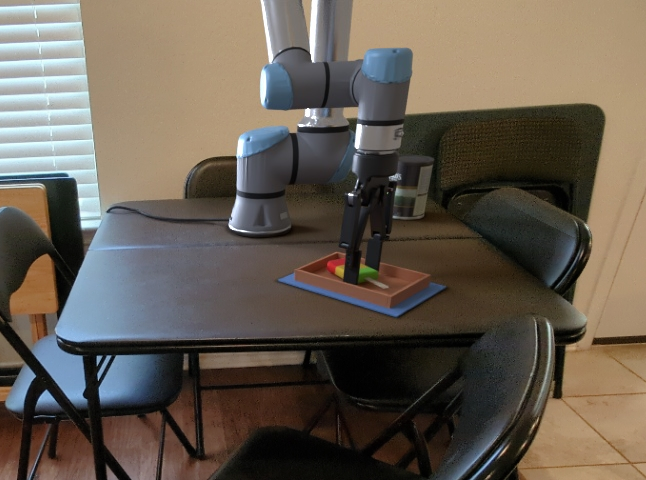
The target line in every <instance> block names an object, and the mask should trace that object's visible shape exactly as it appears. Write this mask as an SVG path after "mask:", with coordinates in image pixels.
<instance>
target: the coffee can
mask: <svg viewBox="0 0 646 480" xmlns="http://www.w3.org/2000/svg"><path fill="white" fill-rule="evenodd" d="M434 163H435V158H434V157H431V156H428V155H421V154H400V155H399V162H398V169H397V173H396V174H395V175H393V176H390V177H389V180H393V181H397V182H398V184H397V188H396V192H395V199H394V209H393V220H394V219H395V220H403V221H413V220H420V219H422V218H424V217H425V212H426V205H427V201H428V194H429V187H430V182H431V177H432V172H433V167H434ZM387 194H388V193H387Z"/></svg>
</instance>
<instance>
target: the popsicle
mask: <svg viewBox="0 0 646 480" xmlns="http://www.w3.org/2000/svg"><path fill="white" fill-rule="evenodd" d="M344 266H345V258H342V259H337V260H332V261H329V262H328V263H327V270H328V271H329V272H331V273H333V274H335V275H337V276H339V277H341V278H343V275H344ZM378 275H379V272H378V271H376V270H374V269H372V268H370V267H368V266H365V265H363V264H361V263H360V271H359V279H358V283H362V282H367V281H369V282H371V283H373V284H375V285H377V286H379V287H381V288H383V289H389V287H388V286H386V285H384V284H382V283H380V282H378V281H376V279H378Z"/></svg>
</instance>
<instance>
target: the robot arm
mask: <svg viewBox="0 0 646 480" xmlns="http://www.w3.org/2000/svg"><path fill="white" fill-rule="evenodd" d="M260 4H261V11H262V12H261V13H262V18H263V26H264V34H265V41H266V48H267V55H268V63H267V64H264V66H263V67H262V70H261V72H260V73H261V74H260V83H259V90H260V102H261V103H260V104H261V106H262V107H263V108H264V109H265V110H268V111H269V110H270V111H285V112H288V111H293V110H304V115H303V117H302V118H301V119H300V120H299V121H298V122H297V125H296V132H290V129H289V127H288V126H286V125H276V126H274V125H272V126H264V127H259V128H255V129H251V130H247V131H245V132H244V133H242V134H241V135H240V136H239V137H238V140H237V149H236V159H237V161H236V165H237V166H236V198H235V200H234V204H233V206H232V211H231V214H230V217H229V218H221V217H220V218H219V217H218V218H176V217H166V216H159V215H155V214H151V213H148V212H145V211H143V210H141V209H138V208H132V207H128V206H123V205H114V206H111V207H109V208H107V210H106V211H105V213H110V212H111V211H112V210H117V209H119V210H125V211H129V212H136V213H140V214H142V215H143V216H145V217H148V218H152V219H155V220H162V221H168V222H169V221H170V222H183V223H184V222H185V223H186V222H188V223H189V222H193V223H194V222H200V223H202V222H207V223H208V222H228V231H230V232H231V233H233V234H235V235H238V236H242V237H247V238H248V237H249V238H273V237H278V236H283V235H285V234H288V233H289V232H290V231H291V230H292V220H291V219H292V218H291V216H290V213H289V209H288V204H287V201H286V200H287V199H286V187H287V186H293V185H294V186H296V185H297V186H298V185H299V186H300V185H320V184H321V185H328V184H336V183H341V182H342V181H345V179H346V178H347V177H348V175H349V174H350V172H351V173H352V174H353V175H354V176H356V177H357V180H356V183H355V186H354V189H353V190H352V191H348V190H347V191H345V193H344V196H343V197H344V207H343V208H344V209H343V215H342V222H341V229H340V233H339V234H340V235H339V236H340V237H339V242H338V248H340V249H343V250H345V254H346V256H345V266H344V275H343V282H346V283H349V284H353V285H358V279H359V271H360V262H361V258H362V253H363V250H361V244H362V241H363V237H364V234H365V232H366V231H365V230H366V227H367V224H368V220H369V227H370V228H369V229H370V237H371V238H367V242H366V243H367V244H366V251H365V266H368V267H370V268H372V269H374V270H376V271H378V272H379V267H380V262H381V258H382V252H383V245H384V241H386V242H388V241H389V240H390V236H391V233H392V230H393V229H392V228H393V220H394V218H393V209H394V199H395V192H396V188H397V184H398V182H397V181H393V180H389V177H390V176H393V175H395V174H396V173H397V169H398V162H399V155H401V154H400V153H399V151H397V150H399V149H401V145H402V139H403V137H404V135H405V132H404V123H405V118H406V111H407V105H408V97H409V91H410V85H411V78H412V76H413V61H414V53H413V50H412V49H411V48H409V47H377V48H376V47H375V48H369V49H367V50H366V51H365V52H364V54H363V59H361V58H357V59H354V60H349V52H350V42H351V41H350V40H351V30H352V18H353V8H354V7H353V6H354V0H311V6H310V19H309V22H310V23H309V31H308V27H307V20H306V15H305V9H304V8H305V7H304V3H303V0H260ZM346 108H347V109H348V108H358V109H357V119H356V128H355V132H354V130H351V129H350V122H349V121H348V120H347V118H346V117H345V115H344V109H346ZM387 193H388V194H387Z"/></svg>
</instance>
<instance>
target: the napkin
mask: <svg viewBox="0 0 646 480" xmlns="http://www.w3.org/2000/svg"><path fill="white" fill-rule="evenodd" d="M294 275H295V272H293V273H291V274H288V275H285V276H284V277H281V278H279V279H277V281H278V282H280V283H283V284H286V285H289V286H293V287H295V288H299V289H302V290H304V291H309V292H312V293H316V294H318V295H322V296H325V297H328V298H332V299H334V300H335V299H336V300H338V301H341V302H345V303H348V304H351V305H355V306H357V307H360V308H364V309H367V310H371V311H374V312H377V313H380V314H383V315H386V316H390V317H393V318H399V317H401V316H402V315H404V314H405V313H407V312H408V311H410V310H412V309H414V308H415V307H417V306H419V305H420V304H422V303H424V302H425V301H427V300H429V299H430V298H432V297H433V296H435V295H437V294H438V293H440V292H441V291H443V290H445V289H447V286H446V285H443V284H439V283H436V282H435V283H434V282H431V281H430V284H429V286H428V287H426V288H425V289H423V290H421V291H420V292H418V293H416V294H414V295H413V296H411V297H409V298H407V299H406V300H404V301H402V302H401V303H399V304H397V305H395V306H394V307H392V308H390V309H389V308H386V307H382V306H379V305H376V304H372V303H369V302H366V301H362V300H359V299H356V298H352V297H349V296H345V295H342V294H339V293H335V292H332V291H329V290H325V289H322V288H319V287H315V286H312V285H309V284H305V283H302V282H299V281H295V280H294Z"/></svg>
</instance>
